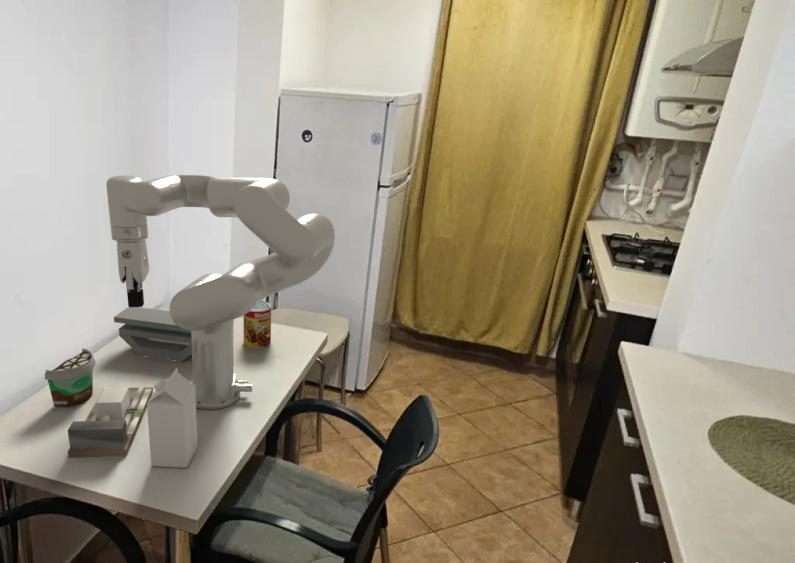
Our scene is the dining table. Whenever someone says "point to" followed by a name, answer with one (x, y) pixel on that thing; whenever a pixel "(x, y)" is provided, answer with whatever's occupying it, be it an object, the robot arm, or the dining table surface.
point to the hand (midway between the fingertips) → (136, 305)
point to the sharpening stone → (154, 333)
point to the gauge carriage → (114, 403)
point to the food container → (72, 380)
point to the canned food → (258, 326)
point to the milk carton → (172, 422)
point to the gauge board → (108, 429)
